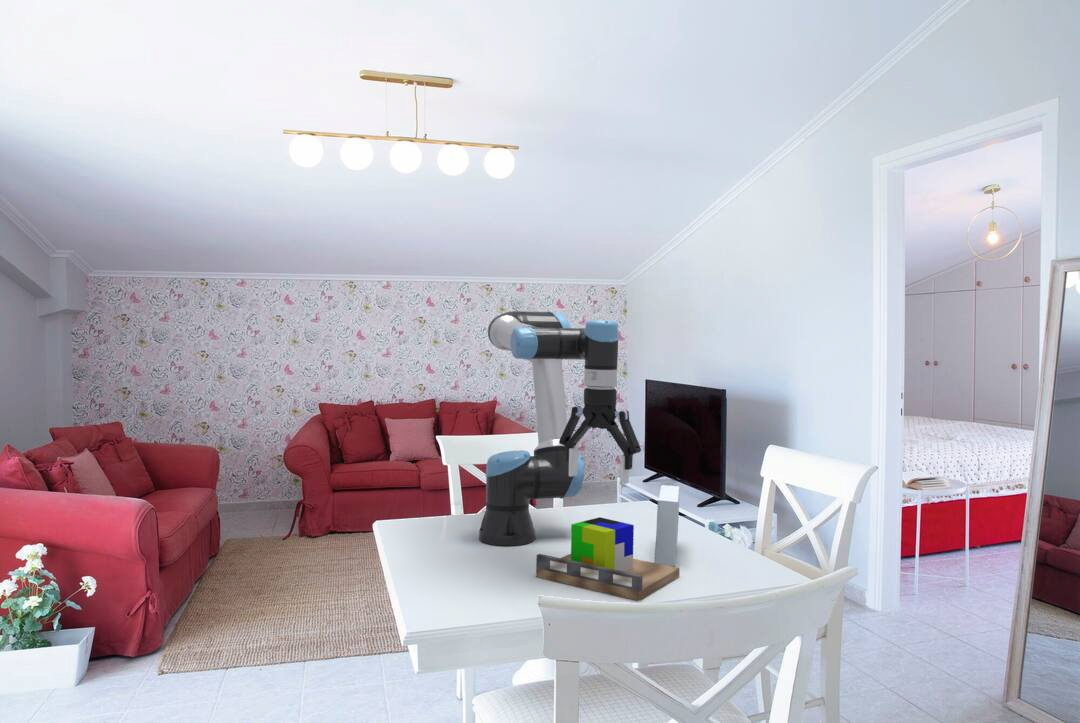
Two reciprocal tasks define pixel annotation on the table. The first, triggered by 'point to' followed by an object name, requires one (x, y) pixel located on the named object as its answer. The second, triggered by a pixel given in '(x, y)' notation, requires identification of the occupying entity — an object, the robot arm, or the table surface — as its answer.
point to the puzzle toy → (603, 543)
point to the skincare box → (667, 525)
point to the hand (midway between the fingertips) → (598, 479)
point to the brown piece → (607, 576)
